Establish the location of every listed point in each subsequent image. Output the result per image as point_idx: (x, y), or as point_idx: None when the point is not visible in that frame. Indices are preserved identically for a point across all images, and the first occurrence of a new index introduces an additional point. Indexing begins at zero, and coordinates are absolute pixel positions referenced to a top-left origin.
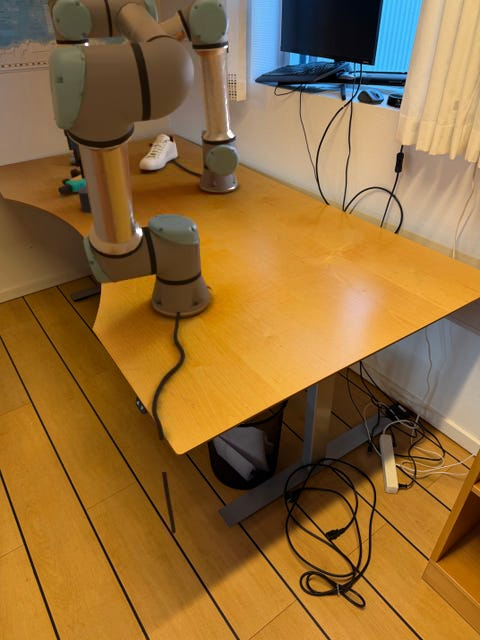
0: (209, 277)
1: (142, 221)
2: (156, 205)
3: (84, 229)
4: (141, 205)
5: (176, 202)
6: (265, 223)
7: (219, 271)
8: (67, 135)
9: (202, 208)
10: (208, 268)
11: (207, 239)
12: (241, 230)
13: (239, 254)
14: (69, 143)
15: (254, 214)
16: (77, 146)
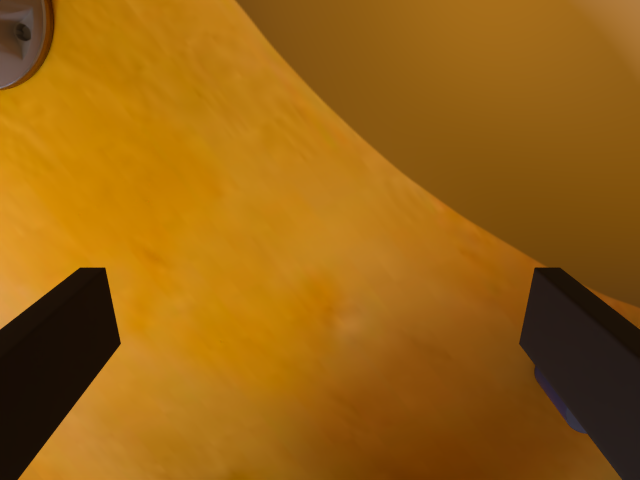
0: (2, 158)
1: (372, 354)
2: (392, 440)
3: (507, 256)
4: (432, 427)
5: (351, 469)
6: (76, 448)
7: (3, 197)
8: (638, 346)
9: (267, 463)
10: (39, 199)
11: (147, 331)
12: (103, 400)
13: (22, 294)
14: (576, 298)
15: (130, 477)
16: (525, 346)
